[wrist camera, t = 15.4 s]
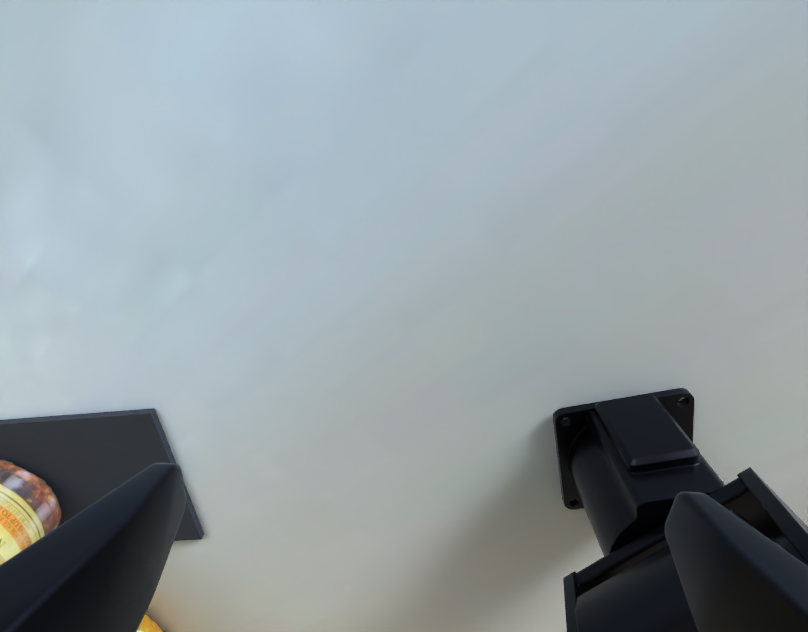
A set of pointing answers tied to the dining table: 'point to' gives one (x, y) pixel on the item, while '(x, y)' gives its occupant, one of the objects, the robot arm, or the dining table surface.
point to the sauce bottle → (24, 509)
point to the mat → (91, 456)
